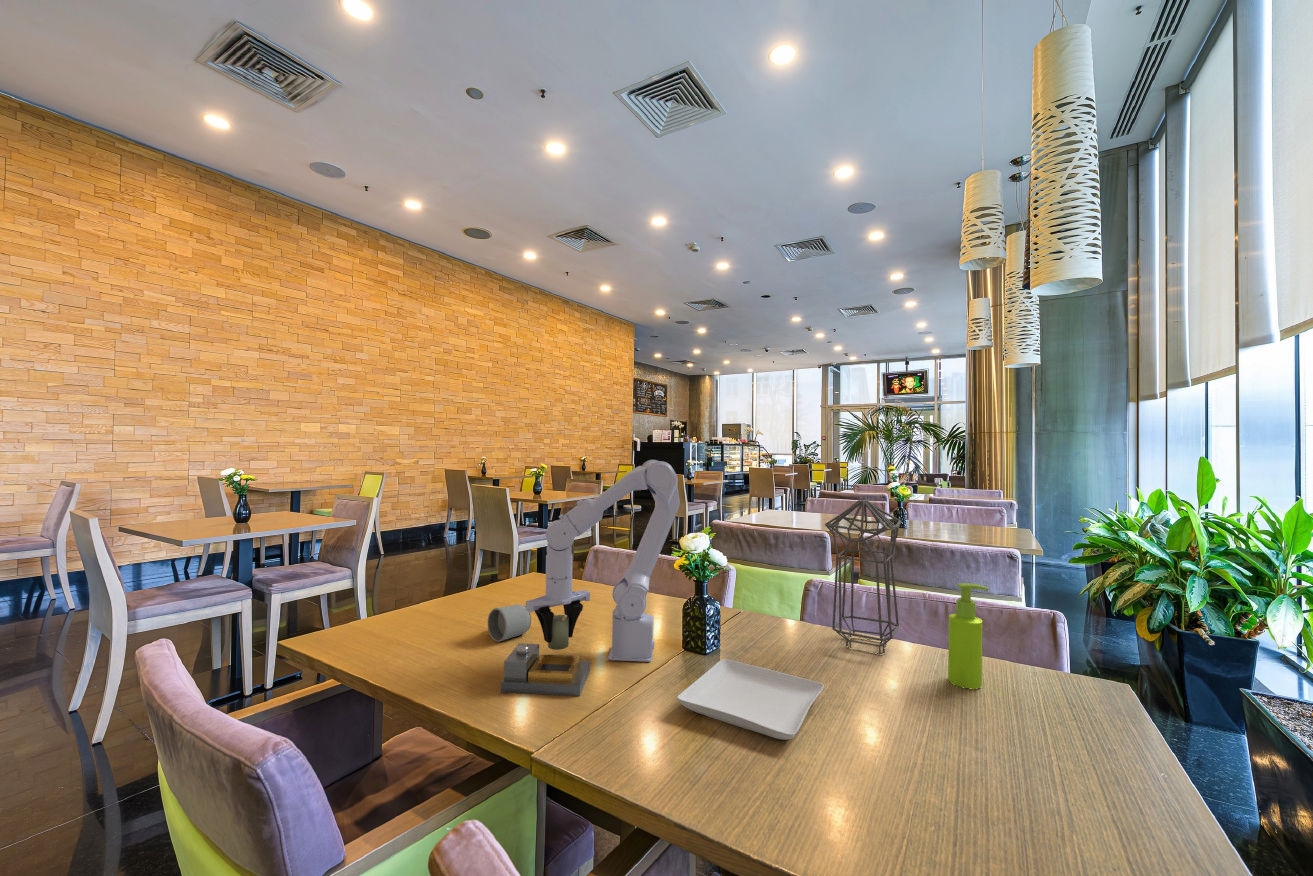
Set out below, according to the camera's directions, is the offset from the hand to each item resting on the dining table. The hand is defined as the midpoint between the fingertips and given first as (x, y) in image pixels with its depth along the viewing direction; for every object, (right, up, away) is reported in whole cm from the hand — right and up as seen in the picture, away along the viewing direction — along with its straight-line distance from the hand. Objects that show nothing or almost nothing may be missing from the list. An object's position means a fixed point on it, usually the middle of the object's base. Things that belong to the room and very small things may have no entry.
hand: (558, 638), depth 115 cm
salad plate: (+39, -6, -19) cm, 44 cm away
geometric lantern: (+70, -6, +11) cm, 71 cm away
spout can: (0, -2, 0) cm, 2 cm away
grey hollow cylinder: (-15, -5, +13) cm, 21 cm away
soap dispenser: (+85, -6, -8) cm, 85 cm away
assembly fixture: (0, -4, -11) cm, 11 cm away
